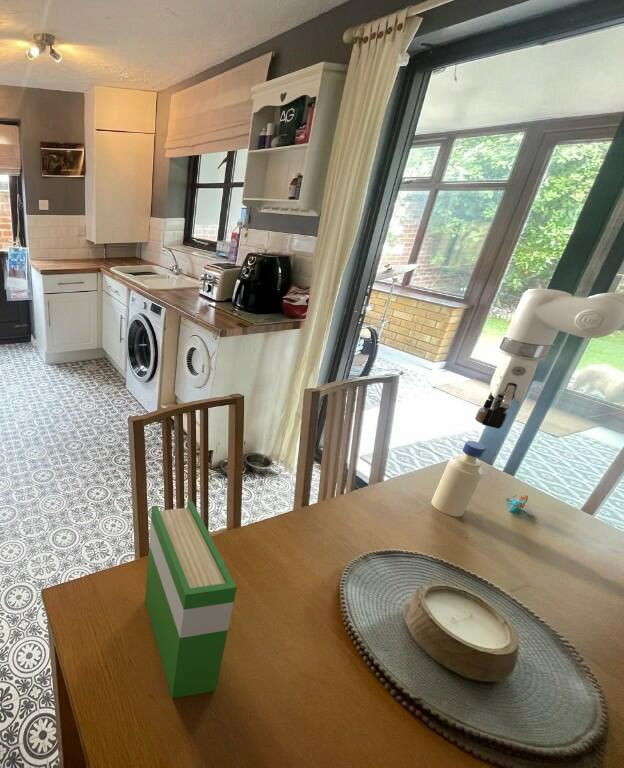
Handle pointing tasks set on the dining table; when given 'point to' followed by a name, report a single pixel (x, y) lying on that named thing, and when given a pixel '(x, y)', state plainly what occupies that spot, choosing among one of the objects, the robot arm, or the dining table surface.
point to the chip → (482, 414)
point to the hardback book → (187, 600)
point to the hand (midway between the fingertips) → (489, 420)
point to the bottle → (459, 480)
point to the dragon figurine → (518, 505)
